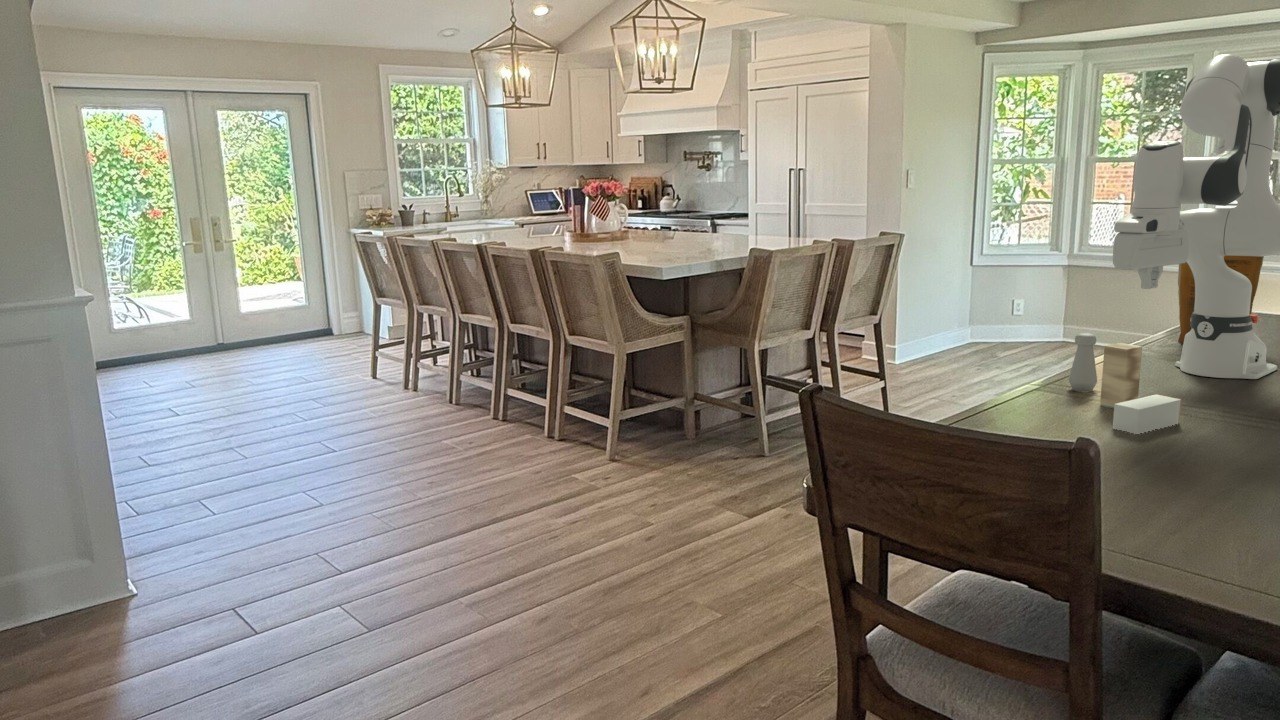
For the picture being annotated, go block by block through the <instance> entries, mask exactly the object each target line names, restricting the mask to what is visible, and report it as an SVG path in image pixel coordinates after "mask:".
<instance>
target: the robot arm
mask: <svg viewBox="0 0 1280 720" xmlns="http://www.w3.org/2000/svg"><path fill="white" fill-rule="evenodd" d="M1279 114H1280V58H1271V59H1270V60H1261V61H1259V60H1258V61H1250V62H1249V61H1248V62H1247V61H1246V60H1245V59H1243V58H1242V57H1240V56H1238V55H1235V54H1229V53H1228V54H1227V53H1226V54H1219V55H1216V56H1214V57H1212V58H1210V59H1209V60H1208V61H1207V62H1206V63H1205V64H1204V65H1203V66H1202V67H1201V68H1200V69H1199V71H1197V73H1196V75H1194V76H1193V77H1192V78H1191V79H1190V80H1189V82H1188V83H1187V85H1186V88H1185V93H1184V95H1183V98H1182V101H1181V103H1180V116H1181V120H1182V121H1183V124H1184V125H1185V126H1187V127H1188V128H1189V129H1190V130H1191V131H1193V132H1195V133H1196V134H1199V135H1201V136H1206V137H1214V138H1219V139H1218V142H1217V147H1216V151H1215V155H1208V156H1207V155H1205V156H1184V147H1183V143H1182V142H1181V141H1178V140H1173V139H1171V140H1169V139H1168V140H1157V141H1151V142H1150V141H1149V142H1147V143H1144V144H1143V145H1141V146H1140V148H1139V150H1138V154H1137V157H1136V162H1135V166H1134V173H1133V182H1132V185H1133V186H1132V189H1133V192H1134V196H1133V201H1132V203H1131V208H1130V209H1131V210H1130V212H1129V213H1128V214H1127V215H1125V216H1124V217H1122V218H1120V219H1119V220H1117V221H1116V222H1115V223H1114V232H1116V233H1117V234H1115V236H1114V241H1113V250H1112V265H1113V267H1114V268H1115V269H1116V270H1119V271H1121V270H1122V271H1134V270H1137V272H1138V275H1139V277H1140V288H1141V289H1143V290H1149V289H1156V288H1158V286H1159V279H1160V278H1161V275H1162V273H1163V271H1164V266H1165V267H1166V266H1172V265H1179V264H1181V263H1185V262H1187V263H1188V265H1189V267H1190V268H1191V270H1192V273H1193V276H1194V280H1195V305H1194V312H1193V313H1192V316H1191V319H1190V321H1191V324H1190V327H1191V328H1192V329H1191V331H1190V332H1188V333H1187V334H1186V335H1185V339H1184V344H1183V345H1182V349H1181V350H1182V351H1181V356H1180V360H1177V361H1176V362H1175V367H1177V368H1180V369H1179V370H1181V372H1184V373H1187V374H1191V375H1196V376H1200V377H1207V378H1208V377H1210V378H1217V379H1218V378H1219V379H1248V380H1257V379H1260V378H1262V377H1265V376H1266V375H1269V374H1270V373H1272V372H1275V371H1277V370H1278V365H1276V364H1273V363H1270V362H1267V350H1268V349H1267V345H1266V343H1264V342H1263V341H1262V340H1261V339H1260V338H1259V337H1258V336H1257V335H1256V333H1254V331H1253V328H1254V327H1253V324H1258V323H1259V320H1260V316H1259V315H1258V314H1252V313H1251V314H1249V311H1250V302H1251V293H1252V285H1251V282H1250V280H1249V279H1248V278H1247V277H1246V276H1244V275H1243V274H1241V273H1239V272H1237V271H1235V270H1233V269H1231V268H1229V267H1228V266H1227V265H1226V263H1225V261H1224V256H1259V257H1260V256H1264V257H1267V256H1275V255H1280V204H1279V203H1278V202H1277V201H1276V199H1275V198H1274V196H1273V195H1272V192H1271V188H1270V171H1271V163H1272V162H1271V161H1272V157H1273V150H1274V142H1275V120H1274V117H1275V116H1277V115H1278V116H1279ZM1234 201H1236V202H1237V204H1236V206H1234V207H1231V208H1230V207H1226V206H1228V205H1229V204H1231V203H1233V202H1234ZM1182 204H1183V205H1185V204H1187V205H1188V204H1189V205H1191V204H1192V205H1193V204H1199V205H1201V204H1205V205H1212V206H1214V205H1215V206H1225V207H1224V208H1223V207H1222V208H1221V207H1216V208H1215V207H1212V208H1211V207H1198V208H1194V209H1185V210H1181V207H1182Z"/></svg>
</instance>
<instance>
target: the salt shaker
mask: <svg viewBox="0 0 1280 720" xmlns="http://www.w3.org/2000/svg"><path fill="white" fill-rule="evenodd" d="M1074 343H1075V344H1076V345H1077V347H1076V351H1075V355H1074V358H1073V361H1072V365H1071V368H1070V369H1071V370H1070V372H1069V376H1068V382H1069V384H1070V386H1071V389H1072V391H1074V392H1079V393H1089V392H1092V391H1094V389H1095V387H1096V385H1097V383H1098V375H1097V368H1096V367H1097V366H1096V358H1095V352H1094V345H1096V344H1097V335H1096V334H1094V333H1089V332H1081V333H1077V334H1076V335H1075V336H1074Z"/></svg>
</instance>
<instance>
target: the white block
mask: <svg viewBox="0 0 1280 720" xmlns="http://www.w3.org/2000/svg"><path fill="white" fill-rule="evenodd" d="M1181 405H1182V399H1181V398H1176V397H1171V396H1167V395H1162V394H1157V393H1156V394H1152V395H1147V396H1143V397H1140V398H1139V397H1138V399H1134V400H1130V401H1125V402H1121V403H1117V404H1114V409H1113V419H1112V429H1113V430H1116V429H1117V431H1119V430H1122V431H1121V432H1123V431H1127V432H1130V433H1129V434H1131V433H1134V434H1133V435H1135V434H1139V435H1141V434H1140V433H1142V434H1145V433H1144V432H1146V433H1149V432H1148V431H1150V432H1153V431H1152V430H1154V431H1156V430H1155V429H1158V430H1161V429H1160V428H1162V429H1165V428H1164V427H1166V428H1169V427H1173V426H1176V425H1175V424H1177V425H1179V424H1180V420H1181V419H1180V418H1181ZM1178 423H1179V424H1178ZM1172 425H1173V426H1172ZM1168 426H1169V427H1168ZM1127 432H1126V433H1127Z"/></svg>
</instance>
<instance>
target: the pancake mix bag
mask: <svg viewBox="0 0 1280 720" xmlns="http://www.w3.org/2000/svg"><path fill="white" fill-rule="evenodd" d="M1264 257H1265V256H1260V257H1259V256H1224V261H1225V263H1226V265H1227V266H1228V267H1229V268H1231V269H1233V270H1235V271H1237V272H1239V273H1241V274H1243V275H1244V276H1246V277H1247V278H1248V279H1249V280H1250V282H1251V285H1252V293H1251V302H1250V311H1249V314H1251V315H1252V311H1253V306H1254V305H1253V304H1254V299H1255V296H1256V294H1257V291H1258V286H1259V282H1260V275H1261V269H1262V268H1263V263H1264ZM1177 286H1178V291H1177V293H1178V295H1177V296H1178V306H1179V312H1178V315H1179V316H1178V319H1179V329H1180V330H1179V331H1180V334H1179V336H1178V340H1177V342H1178V343H1179V344H1184V339H1185V335H1186V334H1187V333H1188V332H1190V331H1191V329H1192V328H1191V327H1190V324H1191V321H1190V319H1191V316H1192V313H1193V312H1194V305H1195V280H1194V276H1193V273H1192V270H1191V268H1190V267H1189V265H1188V263H1187V262H1185V263H1181V264H1178V277H1177Z"/></svg>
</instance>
